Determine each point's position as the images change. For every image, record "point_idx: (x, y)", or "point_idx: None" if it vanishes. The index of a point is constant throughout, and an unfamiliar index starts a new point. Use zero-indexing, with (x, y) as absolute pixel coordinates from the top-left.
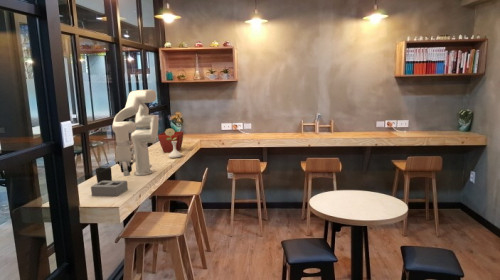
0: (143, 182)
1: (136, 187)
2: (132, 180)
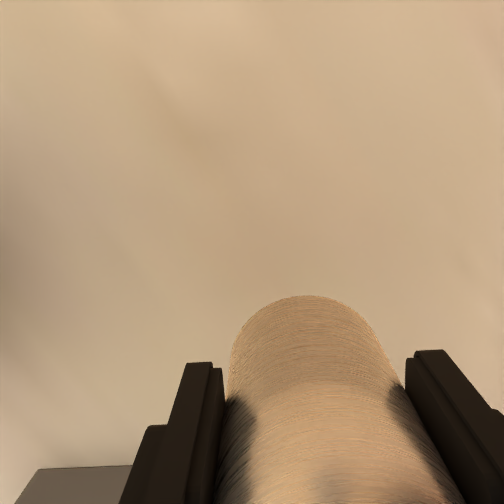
0: (480, 114)
1: (477, 364)
2: (208, 19)
